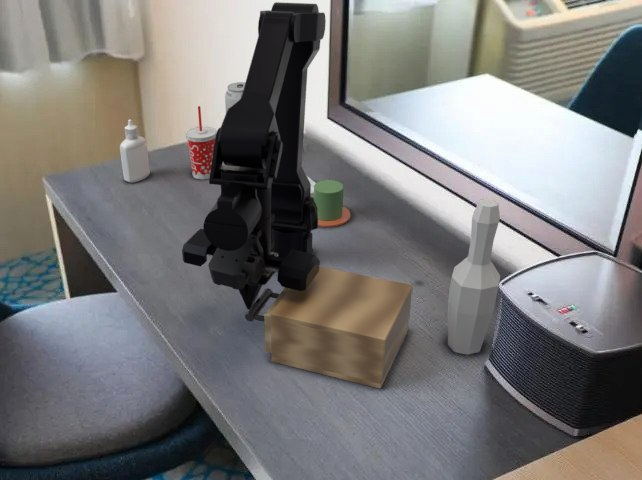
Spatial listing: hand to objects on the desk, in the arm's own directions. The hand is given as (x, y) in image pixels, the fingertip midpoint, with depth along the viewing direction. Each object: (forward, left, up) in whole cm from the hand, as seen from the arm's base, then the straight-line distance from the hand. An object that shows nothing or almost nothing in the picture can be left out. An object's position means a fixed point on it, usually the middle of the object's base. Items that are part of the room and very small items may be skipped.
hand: (250, 308), depth 113 cm
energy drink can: (-26, +54, -3) cm, 60 cm away
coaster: (-1, +36, -3) cm, 36 cm away
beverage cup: (-30, +44, -3) cm, 53 cm away
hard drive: (-15, +36, -2) cm, 39 cm away
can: (-1, +36, -3) cm, 36 cm away
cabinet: (+14, 0, -3) cm, 14 cm away
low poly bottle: (+30, +7, -3) cm, 31 cm away
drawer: (+10, 0, -2) cm, 10 cm away
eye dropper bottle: (-42, +38, -3) cm, 57 cm away
